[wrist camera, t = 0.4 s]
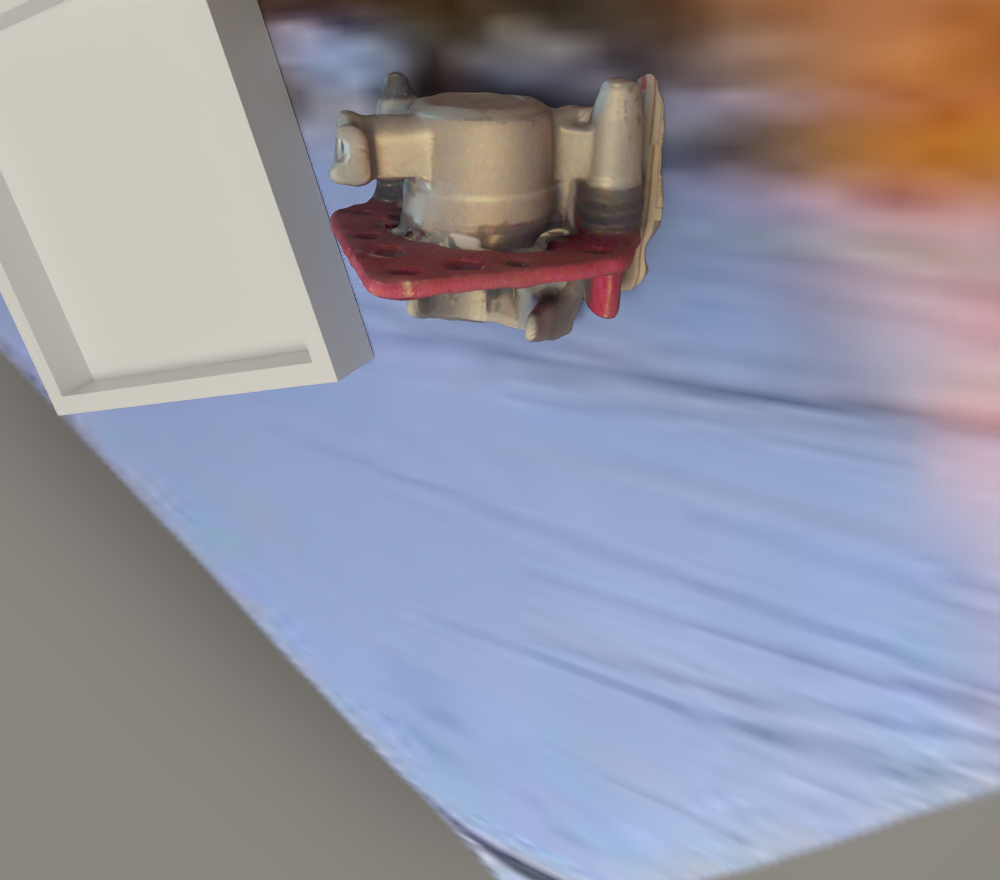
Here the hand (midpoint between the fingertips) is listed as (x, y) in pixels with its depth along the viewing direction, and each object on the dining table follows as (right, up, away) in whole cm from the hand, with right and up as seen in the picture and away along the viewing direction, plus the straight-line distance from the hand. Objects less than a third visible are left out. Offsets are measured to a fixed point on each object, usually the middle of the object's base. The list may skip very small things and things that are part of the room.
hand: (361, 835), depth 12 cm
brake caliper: (+3, +15, +24) cm, 29 cm away
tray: (-15, +17, +32) cm, 39 cm away
